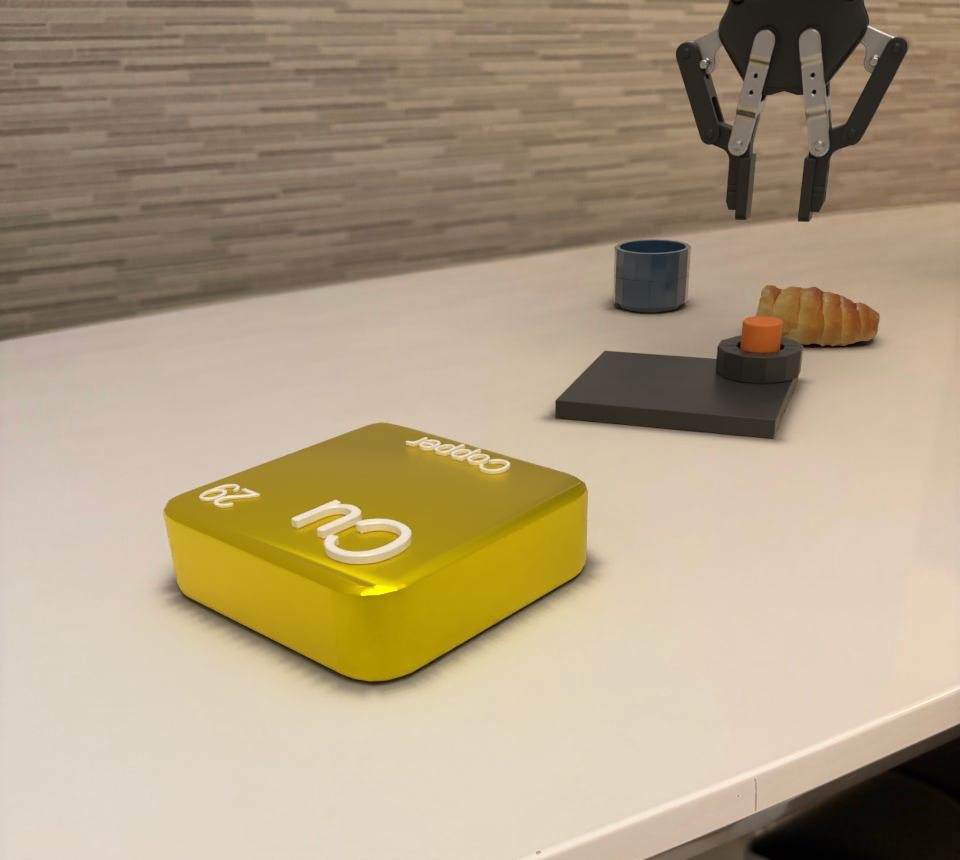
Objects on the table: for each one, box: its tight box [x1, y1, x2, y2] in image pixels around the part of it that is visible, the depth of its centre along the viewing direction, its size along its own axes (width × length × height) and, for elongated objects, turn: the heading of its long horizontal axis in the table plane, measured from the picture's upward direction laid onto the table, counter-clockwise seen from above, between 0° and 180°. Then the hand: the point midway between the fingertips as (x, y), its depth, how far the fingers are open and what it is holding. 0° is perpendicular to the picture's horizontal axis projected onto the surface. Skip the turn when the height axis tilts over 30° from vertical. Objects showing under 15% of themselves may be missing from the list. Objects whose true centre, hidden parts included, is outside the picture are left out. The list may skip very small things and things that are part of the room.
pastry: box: [755, 284, 881, 348], centre depth 84 cm, size 9×7×4 cm
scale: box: [554, 335, 804, 439], centre depth 72 cm, size 14×12×3 cm
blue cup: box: [612, 238, 692, 314], centre depth 94 cm, size 6×6×5 cm
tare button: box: [740, 315, 783, 353], centre depth 73 cm, size 3×3×2 cm
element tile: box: [162, 422, 589, 683], centre depth 50 cm, size 15×15×5 cm
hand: (773, 217), depth 69 cm, fingers open, 3 cm apart
